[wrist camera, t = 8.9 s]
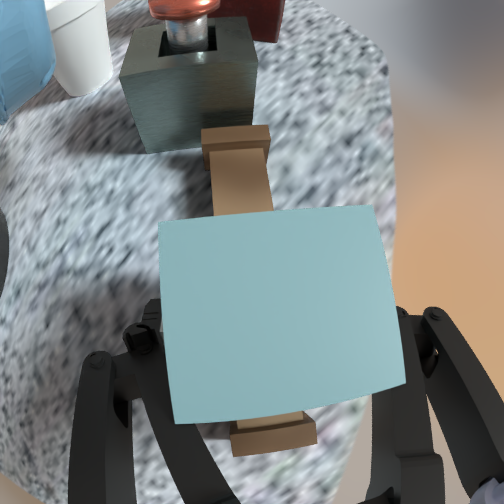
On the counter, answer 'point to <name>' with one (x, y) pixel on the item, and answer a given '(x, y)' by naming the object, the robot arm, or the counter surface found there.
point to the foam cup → (80, 44)
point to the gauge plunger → (184, 23)
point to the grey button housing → (189, 84)
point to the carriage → (276, 312)
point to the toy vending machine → (255, 16)
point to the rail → (238, 202)
